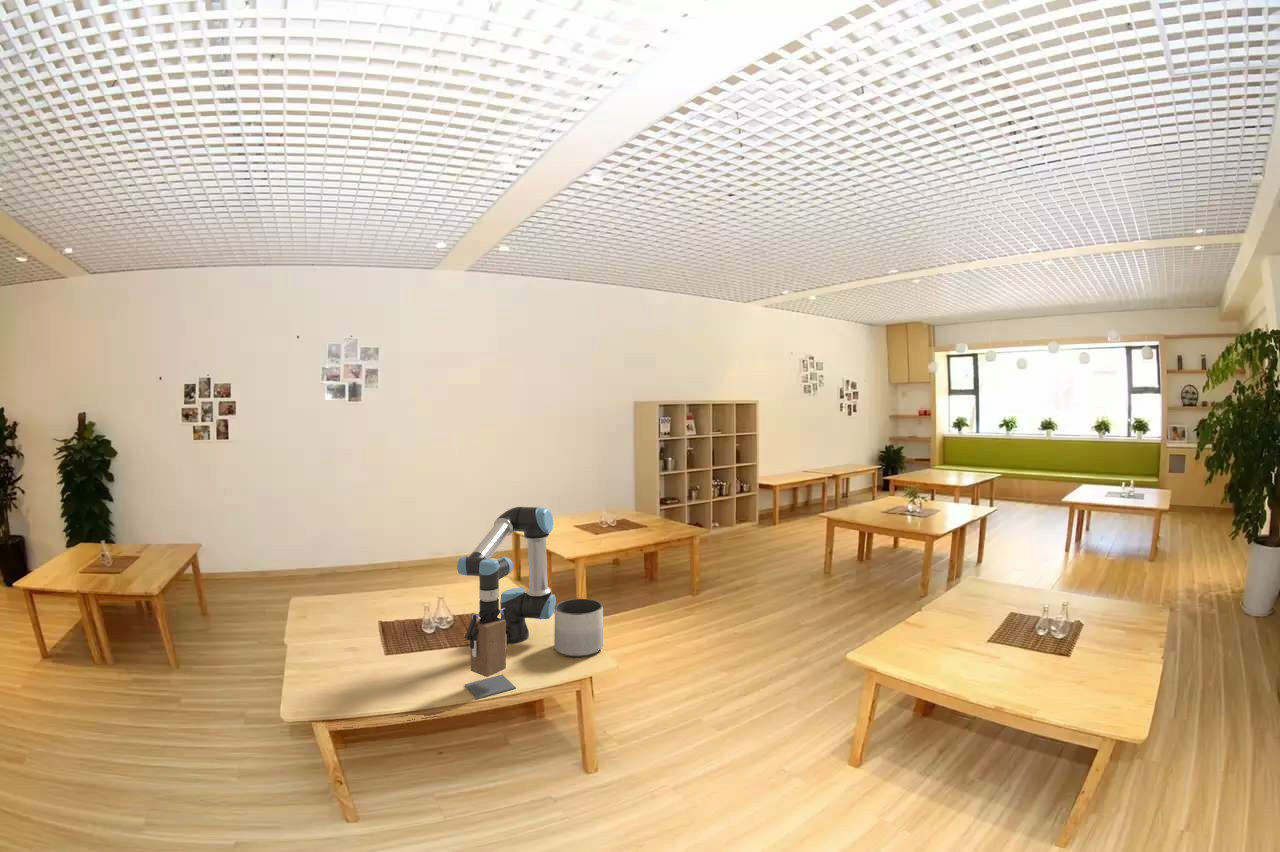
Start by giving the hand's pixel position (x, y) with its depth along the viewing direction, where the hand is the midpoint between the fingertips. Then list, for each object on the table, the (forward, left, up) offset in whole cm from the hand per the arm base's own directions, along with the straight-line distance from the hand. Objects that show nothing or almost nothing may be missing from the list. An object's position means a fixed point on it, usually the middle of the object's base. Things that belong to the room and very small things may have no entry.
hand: (489, 652), depth 244 cm
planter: (-14, +48, -14) cm, 52 cm away
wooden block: (-1, 0, -7) cm, 8 cm away
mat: (0, 0, -14) cm, 14 cm away
